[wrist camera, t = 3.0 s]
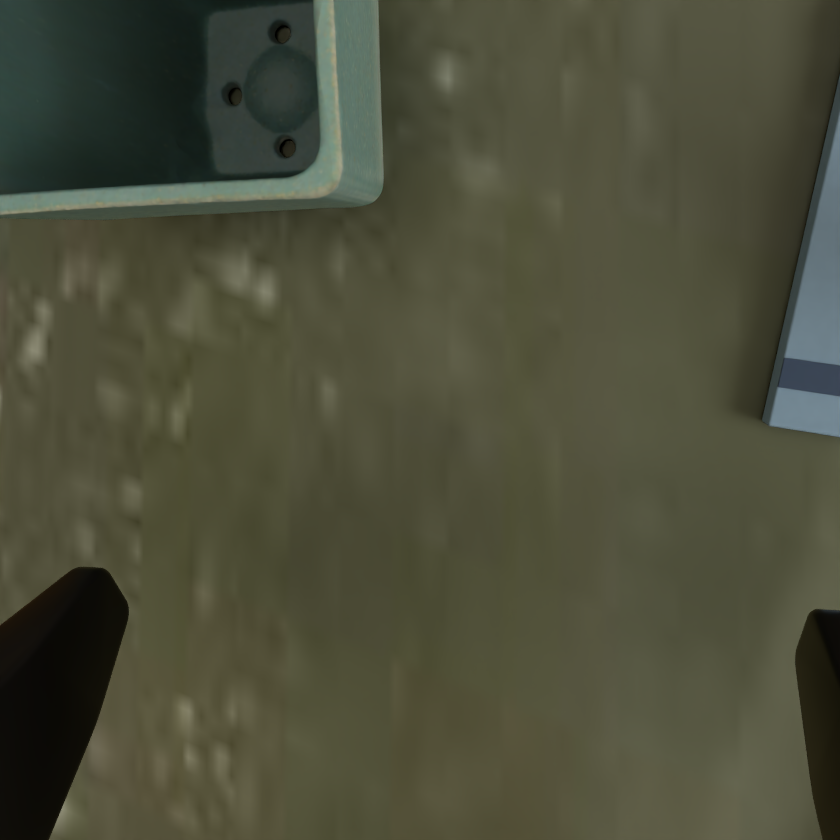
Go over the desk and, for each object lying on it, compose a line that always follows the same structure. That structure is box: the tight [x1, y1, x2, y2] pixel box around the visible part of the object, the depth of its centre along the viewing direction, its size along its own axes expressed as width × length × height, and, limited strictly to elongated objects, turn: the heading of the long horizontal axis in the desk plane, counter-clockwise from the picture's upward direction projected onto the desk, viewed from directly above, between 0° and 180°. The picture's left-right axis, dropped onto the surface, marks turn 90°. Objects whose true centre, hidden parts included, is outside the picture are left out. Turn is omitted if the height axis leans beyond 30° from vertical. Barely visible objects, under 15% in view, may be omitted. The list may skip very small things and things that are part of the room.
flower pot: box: [0, 0, 384, 220], centre depth 18 cm, size 9×9×9 cm
